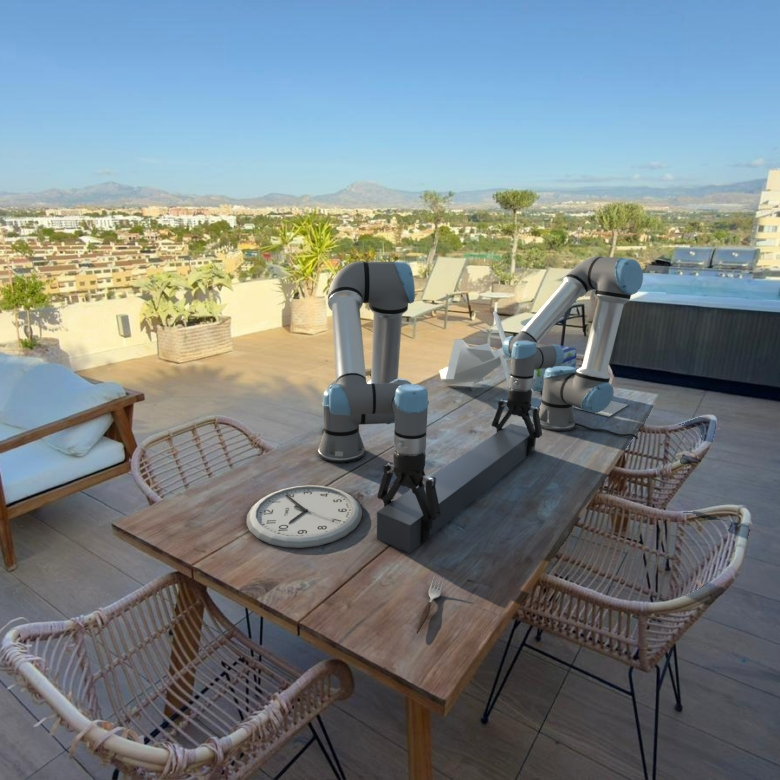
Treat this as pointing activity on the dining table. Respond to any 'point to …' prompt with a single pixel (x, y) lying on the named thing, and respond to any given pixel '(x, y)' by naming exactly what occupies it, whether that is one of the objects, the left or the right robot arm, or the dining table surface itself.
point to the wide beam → (454, 487)
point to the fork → (433, 594)
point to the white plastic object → (475, 361)
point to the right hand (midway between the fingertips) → (514, 450)
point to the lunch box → (568, 361)
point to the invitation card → (610, 408)
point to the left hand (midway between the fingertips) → (407, 532)
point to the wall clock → (304, 516)
